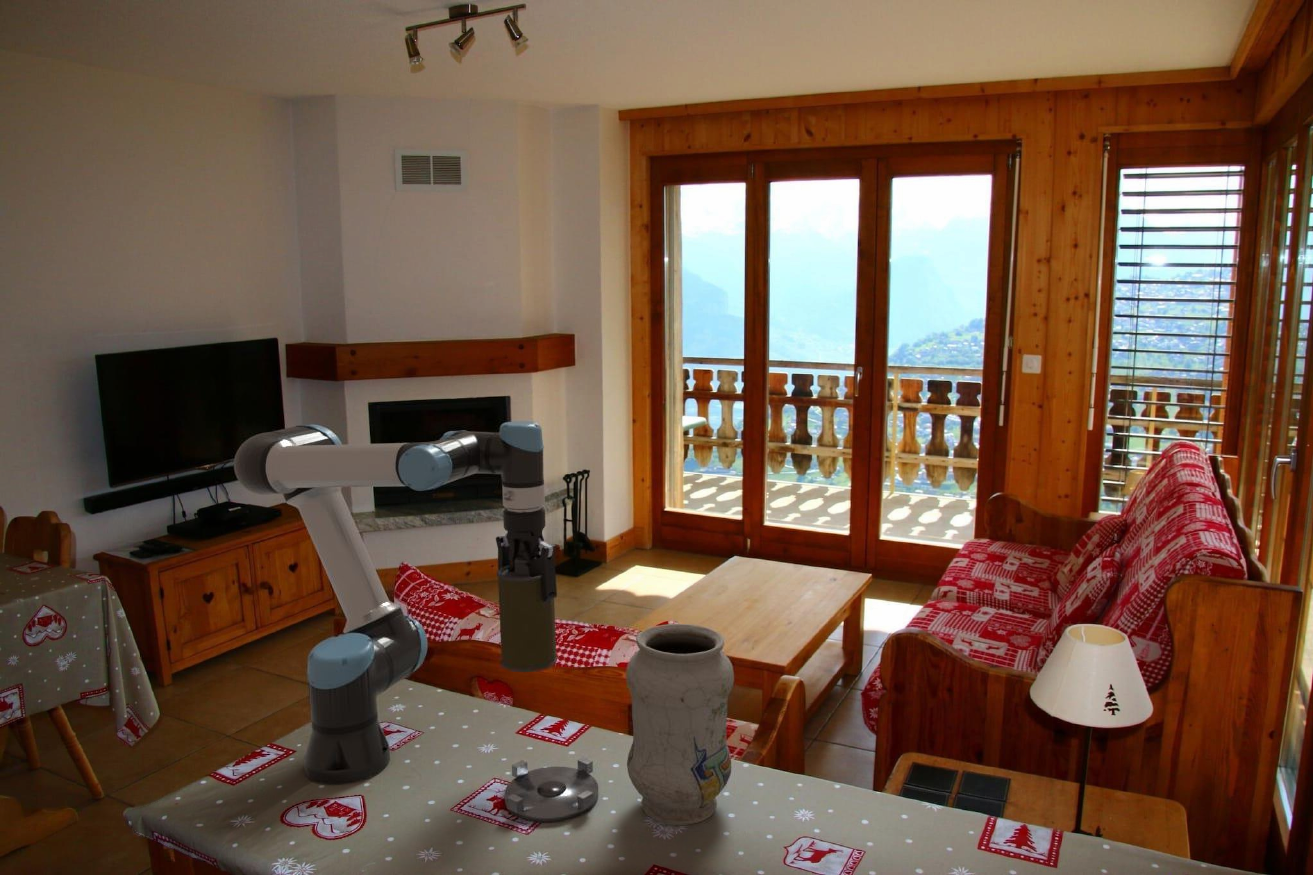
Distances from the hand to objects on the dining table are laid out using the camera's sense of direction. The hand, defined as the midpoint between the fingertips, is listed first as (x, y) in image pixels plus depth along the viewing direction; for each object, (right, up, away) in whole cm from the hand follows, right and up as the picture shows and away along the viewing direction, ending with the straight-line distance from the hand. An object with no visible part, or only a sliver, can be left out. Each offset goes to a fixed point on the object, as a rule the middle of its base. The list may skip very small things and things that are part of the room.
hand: (528, 630), depth 176 cm
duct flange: (+6, -27, -11) cm, 29 cm away
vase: (+28, -27, -14) cm, 41 cm away
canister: (0, -6, +1) cm, 6 cm away
